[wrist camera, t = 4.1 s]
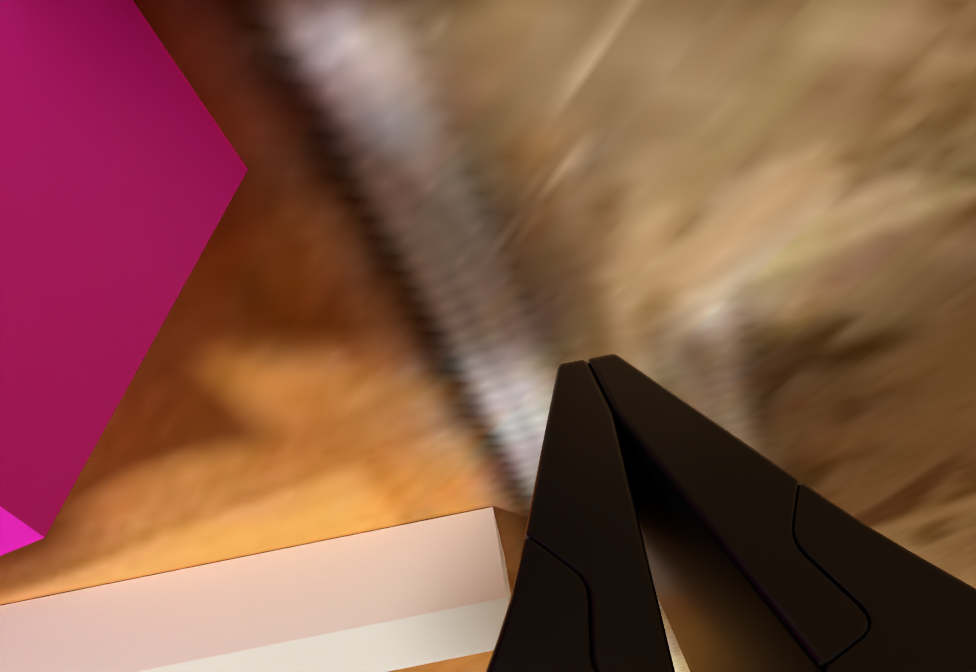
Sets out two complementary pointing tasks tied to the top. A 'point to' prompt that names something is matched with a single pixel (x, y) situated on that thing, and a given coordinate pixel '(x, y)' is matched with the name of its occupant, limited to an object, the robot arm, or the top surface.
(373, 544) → the chute
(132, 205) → the toy block
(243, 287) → the top surface
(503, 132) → the top surface
